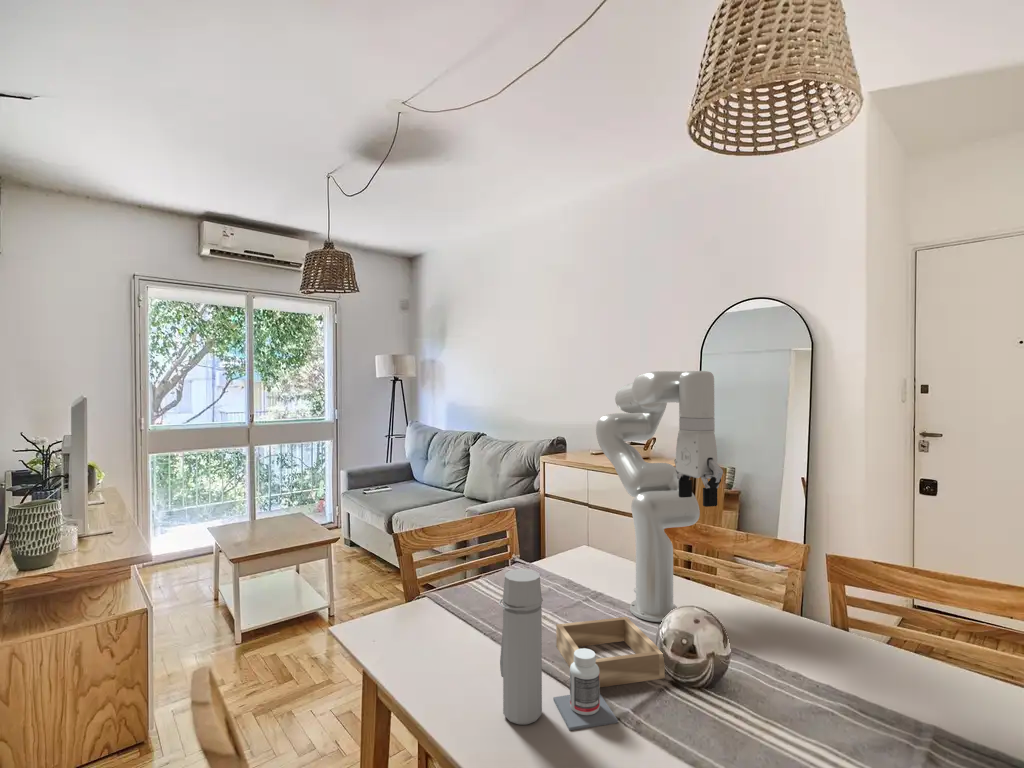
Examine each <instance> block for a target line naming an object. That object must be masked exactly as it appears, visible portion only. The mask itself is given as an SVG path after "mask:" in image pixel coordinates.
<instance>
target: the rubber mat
mask: <svg viewBox="0 0 1024 768" xmlns="http://www.w3.org/2000/svg"><path fill="white" fill-rule="evenodd" d="M599 696H600V704H599V710H598V711H597V712H596V713H595V714H593V715H581V714H578V713H576V712H574V711H573V710H572V709H571V706H570V694H567V695H559V696H553V702H554V704H555V706H556V708H557V710H558V712H559V713H560V715H561V717H562V719H563V721H564V723H565V725H566V727H567V729H568V731H574V730H580V729H587V728H593V727H600V726H606V725H611V724H618V723H619V720H618V718H617V717H616V715H615V713H614V712H613V711H612V709H611V708H610V706H609V704H607V701H606V700H605V699H604V697H603V695H602V694H601V693H600V695H599Z"/></svg>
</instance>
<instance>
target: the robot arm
mask: <svg viewBox="0 0 1024 768" xmlns="http://www.w3.org/2000/svg"><path fill="white" fill-rule="evenodd" d="M614 401H615V404H616V406H617V408H619V410H620V411H622V412H623V413H622V412H618V413H617V412H616V413H607V414H606V415H603V416H601V417H600V418H599V419H598V420H597V422H596V424H595V433H596V434H595V436H596V439H597V443H598V444H599V445H598V446H599V447H600V449H601V451H602V453H603V454H604V456H605V457H606V458H607V459H608V461H610V463H611V464H612V466H613V467H614V469H615V472H616V474H617V476H618V478H619V480H620V481H621V484H622V485H623V487H624V489H625V491H626V492H627V494H629V495H630V496H631V497H633V499H632V502H631V514H632V521H633V527H634V537H635V587H634V589H633V592H634V593H635V600H633V601H632V602H631V603H630V604H629V605H630V606H629V611H630V612H631V614H633V616H635V617H637V618H639V619H641V620H644V621H648V622H652V623H653V622H654V623H662V622H661V621H662V619H663V618H664V617H665V616H666V615H667V614H668V613H669V612H670V611H671V610H673V609H675V608H677V607H678V606H677V605H676V604H674V546H673V543H672V541H671V539H670V538H669V536H668V535H667V533H666V532H665V529H669V528H683V527H690V526H693V525H695V524H696V523H697V522H698V521H699V519H700V516H701V515H700V514H701V513H700V506H699V502H698V500H697V497H696V495H695V494H694V493H693V480H692V479H691V478H694V479H699V478H701V481H702V484H703V485H704V487H702V506H703V507H705V508H708V507H709V508H711V507H717V506H718V488H720V484H721V482H722V477H723V474H724V470H723V469H722V468H721V466H720V465H719V464H718V450H717V441H716V435H715V422H716V421H715V376H714V374H713V373H712V372H710V371H708V370H707V371H706V370H693V371H691V370H687V371H682V370H681V371H677V370H676V371H675V370H674V371H670V370H669V371H668V370H667V371H666V370H662V371H659V370H658V371H649V372H645V373H642V374H640V375H637V376H636V377H635V378H634V381H633V382H632V383H627V384H625V385H623V386H621V387H620V388H619V389H618V390H617V392H616V394H615V396H614ZM668 403H678V404H679V405H678V407H679V408H678V409H679V411H678V414H679V415H678V417H679V418H678V421H679V423H678V425H679V426H678V427H679V428H678V429H679V431H678V433H677V439H676V448H675V450H676V451H675V459H674V464H675V465H672V464H670V463H667V462H647V461H645V460H644V458H643V457H642V455H641V453H640V452H639V451H638V450H637V448H635V447H634V446H632V445H631V444H629V443H628V442H639V441H640V442H641V441H643V442H644V441H648V440H651V439H652V438H653V437H654V436H655V434H656V431H657V429H658V428H659V425H660V423H661V420H662V418H663V417H664V413H665V411H666V408H667V405H668Z"/></svg>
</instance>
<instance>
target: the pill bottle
mask: <svg viewBox="0 0 1024 768" xmlns="http://www.w3.org/2000/svg"><path fill="white" fill-rule="evenodd" d="M596 656H597V655H596V653H595V651H594V650H592V649H590V648H579V649H577V650H576V651H575V652H574V662H573V663H572V664H571V666H570V667H569V695H570V706H571V709H572V710H573V711H574V712H576V713H578V714H581V715H593V714H595V713H596V712H597V711H598V710H599V704H600V696H599V695H600V694H601V693H600V688H601V687H599V676H600V675H599V674H600V672H599V667H598V666H597V664H596V659H597V657H596Z"/></svg>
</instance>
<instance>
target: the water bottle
mask: <svg viewBox="0 0 1024 768" xmlns="http://www.w3.org/2000/svg"><path fill="white" fill-rule="evenodd" d="M543 601H544V599H543V596H542V586H541V575H540V573H539V572H538V571H536V570H533V569H528V568H516V569H510V570H508V571H507V572H505V573H504V581H503V592H502V598H501V599H499V601H498V606H499V607H501V608H502V630H501V631H502V635H501V645H500V659H499V666H500V670H499V671H500V676H501V678H502V683H503V684H502V692H503V693H502V697H503V698H502V700H503V701H502V705H503V708H502V712H503V715H504V717H505V718H506V719H507V720H508V721H509V722H510V723H513V724H516V725H530V724H532V723H535V722H536V721H538V719H539V718H540V717H541V716H542V714H543V679H542V677H543V672H542V671H543V667H542V666H543V663H542V661H543V657H542V654H543V652H542V651H543V649H542V648H543V647H542V645H543V643H542V641H543V638H542V637H543V634H542V633H543V631H542V630H543V629H542V623H543V621H542V618H543V616H542V614H543V613H542V604H543ZM501 602H502V604H501Z"/></svg>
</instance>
